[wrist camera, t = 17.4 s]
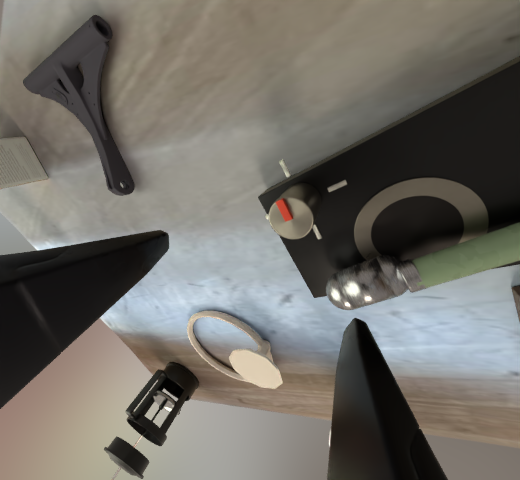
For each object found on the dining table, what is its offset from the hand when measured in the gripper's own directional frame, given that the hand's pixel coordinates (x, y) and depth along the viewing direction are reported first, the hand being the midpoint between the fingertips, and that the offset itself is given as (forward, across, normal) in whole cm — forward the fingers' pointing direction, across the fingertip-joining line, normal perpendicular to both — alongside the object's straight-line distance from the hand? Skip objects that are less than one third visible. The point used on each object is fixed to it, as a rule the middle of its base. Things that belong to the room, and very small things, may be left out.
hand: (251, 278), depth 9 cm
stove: (+13, -7, -1) cm, 15 cm away
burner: (+10, -8, -1) cm, 14 cm away
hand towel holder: (+13, +2, +29) cm, 32 cm away
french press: (+13, +14, +53) cm, 57 cm away
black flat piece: (+13, +25, +1) cm, 28 cm away
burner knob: (+10, 0, 0) cm, 10 cm away
